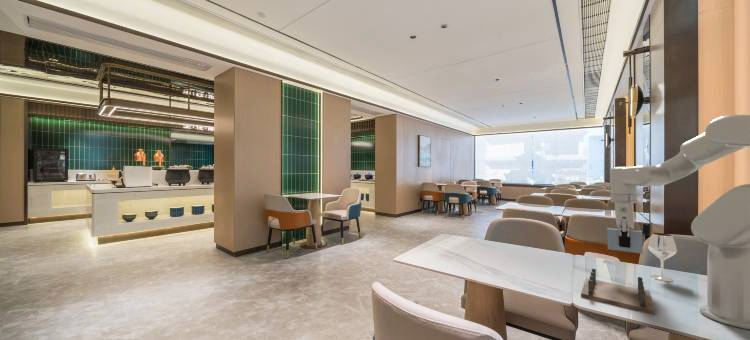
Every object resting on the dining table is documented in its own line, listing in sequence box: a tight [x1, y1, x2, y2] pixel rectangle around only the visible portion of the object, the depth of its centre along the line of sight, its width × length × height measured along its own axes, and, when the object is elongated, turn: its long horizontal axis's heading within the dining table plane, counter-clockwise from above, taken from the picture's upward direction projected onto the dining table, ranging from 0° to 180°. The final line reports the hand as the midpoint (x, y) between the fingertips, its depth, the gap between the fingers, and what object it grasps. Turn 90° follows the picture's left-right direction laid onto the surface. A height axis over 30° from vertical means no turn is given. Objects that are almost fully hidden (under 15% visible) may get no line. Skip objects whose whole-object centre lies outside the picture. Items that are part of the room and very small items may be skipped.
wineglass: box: [647, 232, 678, 282], centre depth 114 cm, size 8×8×18 cm
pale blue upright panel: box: [606, 227, 644, 255], centre depth 108 cm, size 10×2×8 cm, turn 49°
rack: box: [580, 268, 655, 315], centre depth 98 cm, size 18×19×6 cm
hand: (624, 245), depth 108 cm, fingers closed on pale blue upright panel, 2 cm apart
